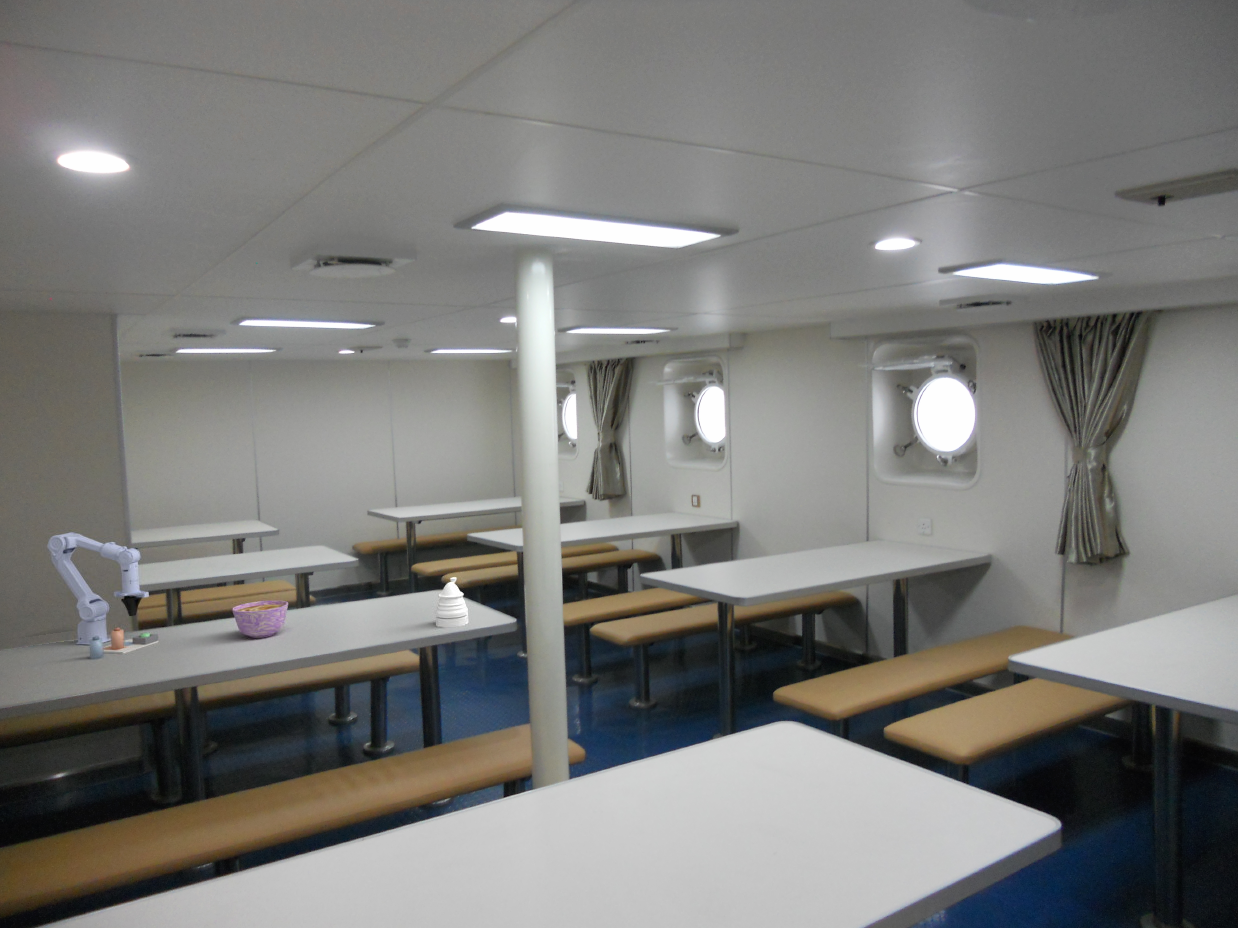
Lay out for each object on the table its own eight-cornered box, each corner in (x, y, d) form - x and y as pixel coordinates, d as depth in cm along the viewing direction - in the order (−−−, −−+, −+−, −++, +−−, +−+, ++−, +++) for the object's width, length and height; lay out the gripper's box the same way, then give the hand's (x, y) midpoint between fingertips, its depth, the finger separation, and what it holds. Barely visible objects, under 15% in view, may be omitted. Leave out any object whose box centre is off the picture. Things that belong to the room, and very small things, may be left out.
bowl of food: (291, 626, 334) (290, 598, 334) (287, 638, 315) (286, 608, 315) (237, 632, 328) (235, 603, 328) (230, 644, 309) (228, 613, 309)
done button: (139, 642, 313) (138, 634, 313) (145, 640, 316) (145, 632, 316) (145, 642, 312) (145, 634, 312) (152, 640, 315) (151, 632, 315)
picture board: (92, 651, 305) (92, 643, 305) (129, 640, 320) (128, 632, 320) (123, 653, 301) (122, 645, 301) (158, 642, 316) (158, 634, 316)
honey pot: (449, 618, 340) (447, 575, 339) (475, 621, 334) (473, 576, 333) (429, 625, 328) (427, 580, 327) (455, 628, 322) (453, 582, 321)
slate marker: (87, 658, 295) (86, 638, 295) (97, 655, 299) (96, 635, 299) (96, 659, 294) (95, 638, 294) (106, 656, 298) (104, 635, 298)
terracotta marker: (108, 649, 305) (108, 628, 305) (117, 646, 309) (116, 626, 309) (118, 649, 304) (117, 629, 304) (126, 646, 308) (125, 626, 308)
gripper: (106, 582, 316) (108, 617, 317) (137, 582, 313) (139, 618, 313) (122, 578, 323) (124, 613, 324) (152, 579, 319) (154, 614, 320)
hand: (132, 615), depth 319 cm, fingers closed
